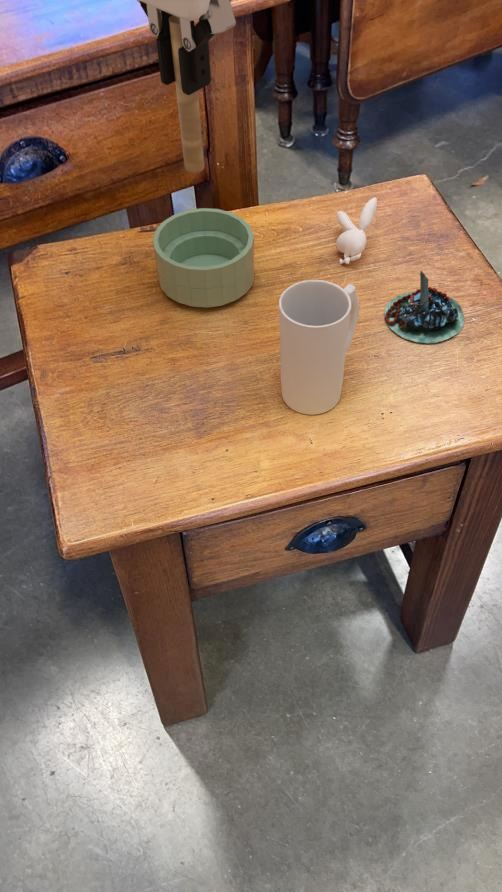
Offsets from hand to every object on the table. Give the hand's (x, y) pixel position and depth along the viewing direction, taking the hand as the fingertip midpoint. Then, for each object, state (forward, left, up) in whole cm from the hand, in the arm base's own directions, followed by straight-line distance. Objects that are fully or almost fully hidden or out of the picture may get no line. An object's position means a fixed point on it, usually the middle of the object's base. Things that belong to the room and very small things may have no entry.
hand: (186, 82), depth 76 cm
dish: (+14, -21, -25) cm, 35 cm away
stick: (0, 0, -9) cm, 9 cm away
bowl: (+2, +2, -25) cm, 25 cm away
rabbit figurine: (+19, -7, -25) cm, 32 cm away
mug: (-2, -19, -25) cm, 31 cm away
